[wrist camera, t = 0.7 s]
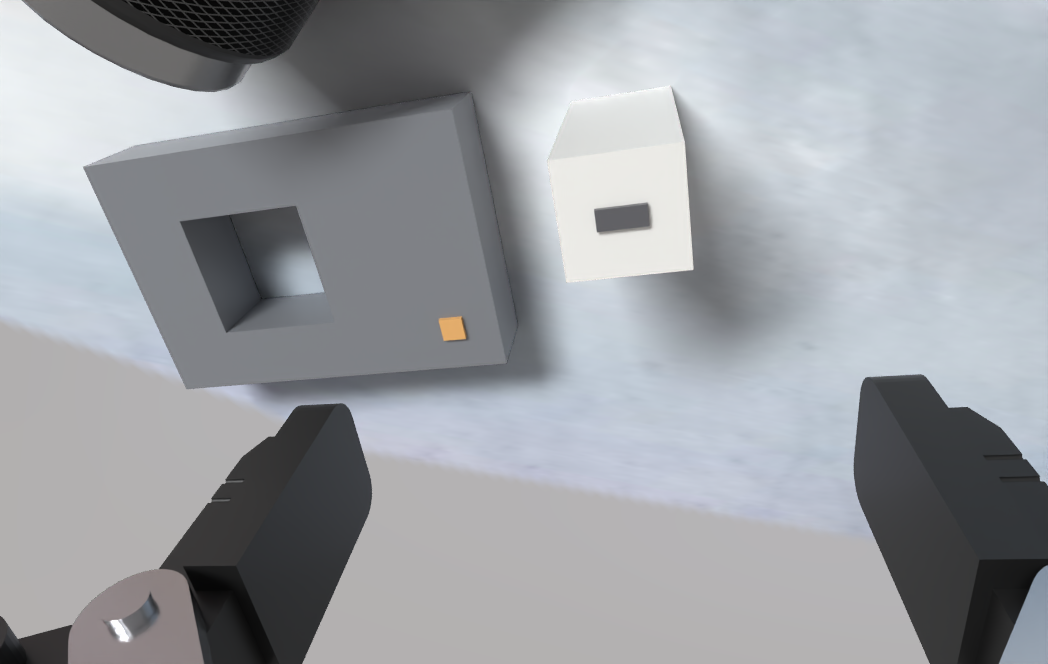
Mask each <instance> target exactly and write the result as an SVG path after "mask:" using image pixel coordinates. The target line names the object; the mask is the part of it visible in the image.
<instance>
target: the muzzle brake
mask: <svg viewBox="0 0 1048 664" xmlns="http://www.w3.org/2000/svg"><path fill="white" fill-rule="evenodd" d="M22 1H23V2H24V3H25V4H26V5H27V6H29V7H30V8H31V9H32V10H33V11H34V12H35V13H37V14H38V15H39V16H40V17H41V18H42V19H43V20H45V21H46V22H47V23H49V24H50V25H52V26H53V27H54V28H56V29H57V30H58V31H60V32H61V33H63V34H64V35H65V36H67V37H68V38H70V39H71V40H73V41H75V42H76V43H78V44H80V45H81V46H83V47H85V48H86V49H88V50H90V51H91V52H93V53H94V54H96V55H98V56H100V57H102V58H104V59H106V60H108V61H110V62H112V63H114V64H116V65H118V66H120V67H122V68H124V69H126V70H129V71H131V72H134V73H136V74H138V75H141V76H143V77H146V78H148V79H151V80H154V81H157V82H160V83H163V84H167V85H170V86H173V87H177V88H182V89H187V90H193V91H203V92H217V91H222V90H227V89H229V88H231V87H233V86H234V85H236V84H238V83H239V82H241V80H242V79H243V77H244V75H245V74H246V72H247V71H248V69H249V67H250V66H251V64H255V63H262V62H264V61H267V60H270V59H272V58H275V57H277V56H279V55H280V54H282V53H284V52H285V51H287V50H288V49H289V48H290V46H291V45H292V43H293V41H294V40H295V38H296V37H297V35H298V33H299V32H300V30H301V29H302V27H303V25H304V24H305V22H306V21H307V19H308V17H309V16H310V14H311V13H312V11H313V10H314V8H315V6H316V5H317V3H318V2H319V0H22Z"/></svg>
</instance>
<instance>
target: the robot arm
mask: <svg viewBox="0 0 1048 664" xmlns="http://www.w3.org/2000/svg"><path fill="white" fill-rule="evenodd" d="M1039 477H1040V476H1039V475H1038V473H1037V472H1036V471H1035V470H1034V468H1033V467H1032V466H1031V465H1030V463H1029V462H1028V461H1027V460H1026V459H1023V458H1022V453H1021V452H1020V451H1019V450H1018V448H1017V447H1016V446H1015V445H1014V443H1013V442H1012V441H1011V440H1010V438H1009V437H1008V436H1007V435H1006V433H1005V432H1004V431H1003V430H1002V429H1001V428H1000V427H998V426H997V425H995V424H994V423H992V422H990V421H989V420H987V419H986V418H984V417H982V416H981V415H979V414H978V413H976V412H975V411H973V410H971V409H970V408H968V407H958V408H948V407H947V405H946V404H945V402H944V401H943V400H942V398H941V397H940V396H939V394H938V393H937V391H936V390H935V389H934V387H933V386H932V385H931V383H930V382H929V380H928V379H927V378H926V377H925V376H924V375H921V374H920V375H901V376H882V377H867V378H865V379H864V381H863V383H862V386H861V392H860V402H859V412H858V423H857V433H856V444H855V454H854V479H855V486H856V491H857V496H858V499H859V502H860V505H861V507H862V510H863V512H864V514H865V517H866V519H867V521H868V523H869V526H870V528H871V530H872V533H873V535H874V537H875V539H876V542H877V544H878V546H879V548H880V551H881V553H882V555H883V557H884V560H885V562H886V564H887V567H888V569H889V571H890V573H891V576H892V578H893V581H894V582H895V585H896V587H897V590H898V592H899V594H900V596H901V599H902V601H903V603H904V605H905V608H906V610H907V612H908V614H909V617H910V619H911V622H912V624H913V626H914V628H915V631H916V633H917V635H918V637H919V640H920V642H921V644H922V647H923V649H924V651H925V654H926V656H927V658H928V660H929V663H930V664H1048V486H1047V484H1046V483H1045V482H1041V481H1040V478H1039ZM371 499H372V486H371V479H370V474H369V471H368V468H367V464H366V461H365V458H364V454H363V451H362V448H361V444H360V441H359V438H358V434H357V431H356V428H355V424H354V421H353V418H352V415H351V412H350V410H349V408H348V407H347V406H346V405H345V404H341V403H340V404H320V405H301V406H298V407H296V408H295V409H294V410H293V412H292V413H291V414H290V416H289V417H288V419H287V420H286V422H285V423H284V424H283V426H282V427H281V429H280V430H279V431H278V433H277V434H276V436H275V437H268V438H266V439H265V440H264V441H262V442H261V443H260V444H259V445H257V446H256V447H255V448H253V449H252V450H251V451H249V452H248V453H247V454H246V455H244V456H243V457H242V458H241V460H240V461H239V462H238V463H237V465H236V466H235V467H234V469H233V470H232V471H231V473H230V474H229V476H228V477H227V479H226V483H225V484H222V485H221V486H220V488H219V489H218V490H217V492H216V493H215V494H214V496H213V497H212V502H211V503H208V504H207V505H206V506H205V508H204V509H203V510H202V512H201V513H200V514H199V516H198V517H197V518H196V520H195V521H194V522H193V524H192V525H191V526H190V528H189V529H188V530H187V532H186V533H185V535H184V536H183V538H182V539H181V540H180V541H179V543H178V544H177V545H176V547H175V548H174V550H173V551H172V552H171V553H170V555H169V556H168V557H167V559H166V560H165V561H164V563H163V564H162V565H161V567H160V568H159V569H155V570H149V571H145V572H141V573H138V574H135V575H132V576H130V577H127V578H125V579H123V580H121V581H119V582H117V583H116V584H114V585H112V586H111V587H109V588H107V589H106V590H105V591H103V592H102V593H100V594H99V595H98V596H97V597H95V598H94V599H93V600H92V601H91V602H90V603H89V604H88V605H87V606H86V607H85V608H84V609H83V610H82V611H81V613H80V614H79V616H78V617H77V618H76V620H75V622H74V623H73V625H69V626H66V627H62V628H58V629H55V630H51V631H47V632H43V633H39V634H36V635H32V636H28V637H24V638H21V639H17V637H16V636H15V635H14V633H13V632H12V630H11V629H10V627H9V626H8V624H7V623H6V621H5V620H4V619H3V618H2V617H1V616H0V664H302V663H303V661H304V658H305V655H306V653H307V652H308V649H309V647H310V645H311V643H312V640H313V638H314V636H315V634H316V631H317V629H318V627H319V625H320V622H321V620H322V618H323V615H324V613H325V611H326V609H327V607H328V604H329V602H330V600H331V598H332V595H333V593H334V591H335V589H336V586H337V584H338V582H339V579H340V577H341V575H342V573H343V570H344V568H345V566H346V564H347V562H348V559H349V557H350V555H351V553H352V550H353V548H354V545H355V543H356V541H357V539H358V537H359V534H360V532H361V530H362V528H363V526H364V523H365V521H366V519H367V517H368V514H369V510H370V506H371Z"/></svg>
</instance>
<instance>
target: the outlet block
mask: <svg viewBox="0 0 1048 664" xmlns="http://www.w3.org/2000/svg"><path fill="white" fill-rule="evenodd" d="M83 168H84V170H85V172H86V175H87V177H88V179H89V181H90V183H91V185H92V187H93V190H94V192H95V194H96V196H97V198H98V200H99V202H100V205H101V207H102V209H103V211H104V213H105V215H106V217H107V220H108V222H109V224H110V226H111V228H112V230H113V232H114V235H115V237H116V239H117V241H118V243H119V245H120V247H121V250H122V252H123V254H124V256H125V258H126V260H127V262H128V265H129V267H130V269H131V271H132V273H133V275H134V277H135V280H136V282H137V284H138V286H139V288H140V290H141V292H142V295H143V297H144V299H145V301H146V303H147V305H148V308H149V310H150V312H151V314H152V316H153V318H154V320H155V323H156V325H157V327H158V329H159V331H160V333H161V335H162V338H163V340H164V342H165V344H166V346H167V348H168V350H169V353H170V355H171V357H172V359H173V361H174V363H175V365H176V368H177V370H178V372H179V374H180V376H181V378H182V380H183V383H184V385H185V387H186V389H194V388H207V387H219V386H232V385H244V384H257V383H269V382H282V381H294V380H307V379H319V378H332V377H344V376H357V375H369V374H382V373H394V372H407V371H419V370H432V369H444V368H457V367H469V366H482V365H494V364H507V361H508V358H509V354H510V351H511V348H512V344H513V341H514V338H515V335H516V331H517V328H518V323H517V318H516V313H515V308H514V303H513V298H512V293H511V288H510V283H509V278H508V273H507V268H506V263H505V258H504V253H503V248H502V243H501V238H500V233H499V228H498V223H497V218H496V213H495V208H494V203H493V198H492V193H491V188H490V183H489V178H488V173H487V168H486V163H485V158H484V153H483V148H482V143H481V138H480V133H479V128H478V123H477V118H476V113H475V108H474V103H473V98H472V93H471V91H470V92H464V93H458V94H452V95H446V96H439V97H433V98H427V99H421V100H415V101H409V102H402V103H396V104H390V105H384V106H378V107H371V108H365V109H359V110H353V111H347V112H341V113H334V114H328V115H322V116H316V117H310V118H303V119H297V120H291V121H285V122H279V123H273V124H266V125H260V126H254V127H248V128H242V129H235V130H229V131H223V132H217V133H211V134H205V135H198V136H192V137H186V138H180V139H174V140H167V141H161V142H155V143H149V144H143V145H136V146H133V147H131V148H128V149H126V150H123V151H121V152H118V153H116V154H114V155H111V156H109V157H106V158H104V159H101V160H99V161H96V162H94V163H92V164H89V165H87V166H84V167H83ZM290 206H296V208H297V211H298V214H299V217H300V220H301V223H302V226H303V228H304V231H305V234H306V237H307V240H308V243H309V246H310V249H311V252H312V255H313V258H314V261H315V264H316V267H317V270H318V273H319V276H320V279H321V282H322V285H323V288H324V291H325V293H315V294H306V295H297V296H287V297H278V298H268V299H261V297H260V295H259V292H258V290H257V287H256V284H255V282H254V279H253V276H252V274H251V271H250V269H249V266H248V263H247V261H246V258H245V256H244V253H243V250H242V248H241V245H240V242H239V240H238V237H237V235H236V232H235V229H234V227H233V224H232V222H231V219H230V216H229V215H231V214H238V213H246V212H253V211H261V210H268V209H276V208H283V207H290Z"/></svg>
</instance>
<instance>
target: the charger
mask: <svg viewBox="0 0 1048 664" xmlns="http://www.w3.org/2000/svg"><path fill="white" fill-rule="evenodd" d="M547 164H548V171H549V177H550V183H551V189H552V196H553V202H554V208H555V214H556V221H557V227H558V233H559V239H560V246H561V252H562V258H563V265H564V271H565V277H566V283H570V282H580V281H590V280H599V279H609V278H619V277H629V276H639V275H648V274H658V273H668V272H678V271H688V270H693V255H692V240H691V226H690V211H689V196H688V182H687V167H686V152H685V141H684V137H683V133H682V129H681V125H680V121H679V116H678V112H677V108H676V104H675V100H674V96H673V92H672V88H671V86H666V87H660V88H653V89H647V90H640V91H634V92H627V93H621V94H614V95H608V96H601V97H595V98H588V99H582V100H575V101H571V102H570V105H569V107H568V110H567V112H566V115H565V117H564V119H563V122H562V124H561V127H560V129H559V132H558V134H557V137H556V139H555V142H554V144H553V147H552V149H551V152H550V154H549V157H548V159H547Z"/></svg>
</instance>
